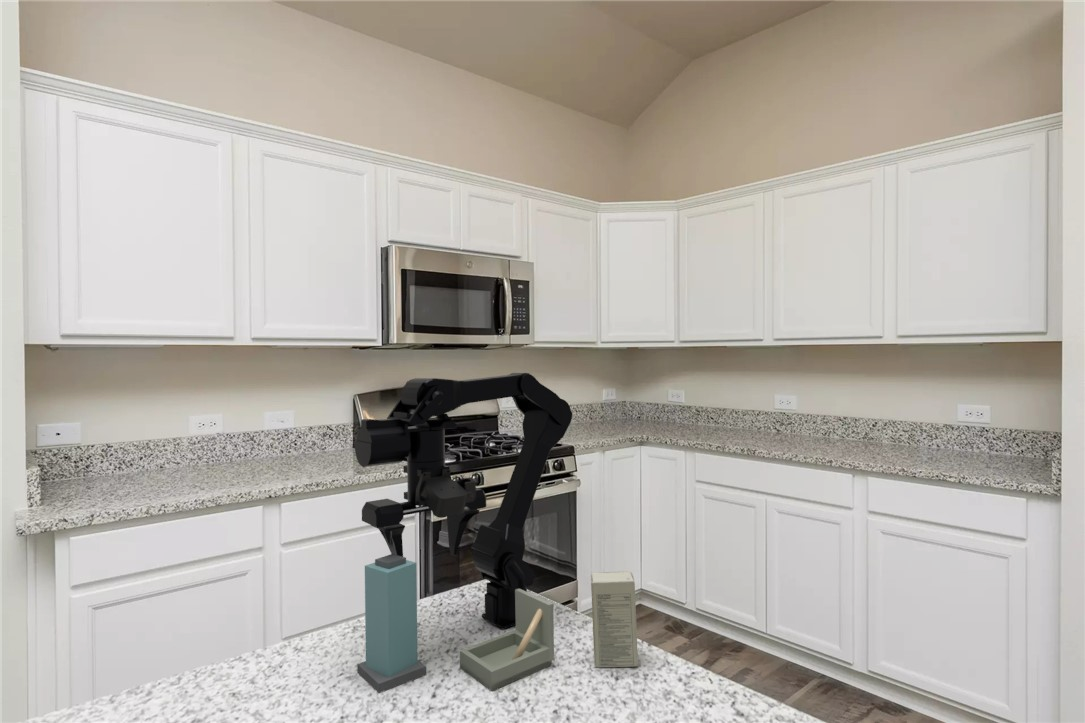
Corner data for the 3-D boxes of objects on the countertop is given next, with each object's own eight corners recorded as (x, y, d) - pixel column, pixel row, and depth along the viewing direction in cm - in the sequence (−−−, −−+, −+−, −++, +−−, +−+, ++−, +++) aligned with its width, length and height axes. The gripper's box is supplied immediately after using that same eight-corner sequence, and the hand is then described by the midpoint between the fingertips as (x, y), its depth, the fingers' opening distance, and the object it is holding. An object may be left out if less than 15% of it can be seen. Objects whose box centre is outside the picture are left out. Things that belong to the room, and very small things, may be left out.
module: (394, 652, 87) (393, 550, 87) (417, 662, 84) (416, 557, 84) (365, 666, 83) (364, 560, 83) (388, 677, 80) (387, 566, 80)
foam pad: (403, 656, 88) (403, 648, 88) (426, 674, 83) (426, 666, 83) (357, 672, 84) (357, 664, 84) (378, 693, 78) (378, 683, 78)
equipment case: (520, 644, 91) (519, 588, 92) (554, 663, 85) (553, 603, 85) (459, 668, 85) (459, 607, 85) (492, 691, 78) (491, 625, 79)
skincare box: (634, 653, 88) (633, 570, 88) (638, 668, 84) (637, 580, 84) (591, 653, 88) (590, 570, 88) (593, 668, 84) (591, 581, 84)
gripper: (393, 473, 80) (394, 590, 79) (506, 458, 92) (507, 560, 91) (359, 464, 88) (360, 570, 88) (466, 451, 100) (468, 544, 100)
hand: (427, 561), depth 92 cm, fingers open, 9 cm apart
